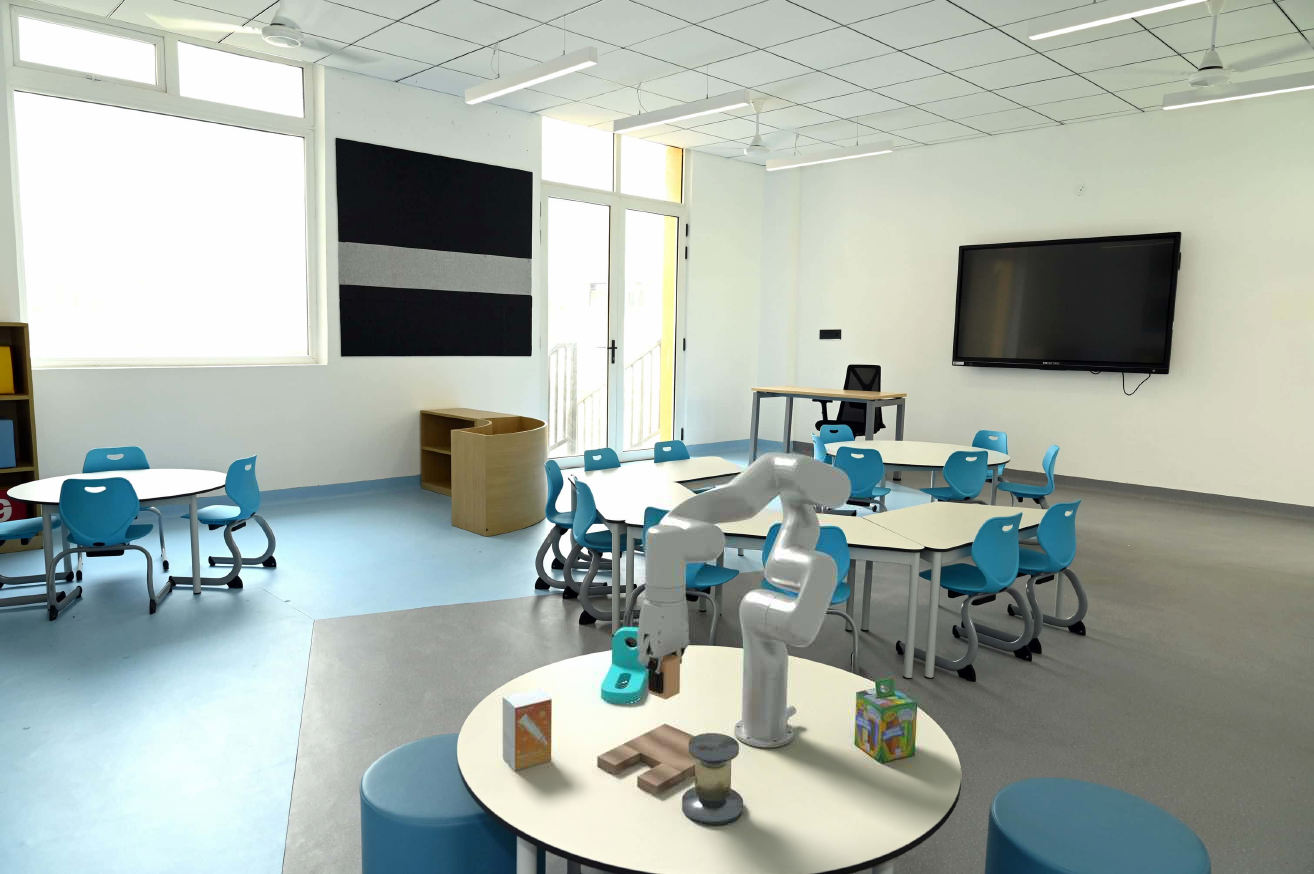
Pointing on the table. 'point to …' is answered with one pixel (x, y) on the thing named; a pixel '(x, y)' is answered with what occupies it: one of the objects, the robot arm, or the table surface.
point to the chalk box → (885, 722)
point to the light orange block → (669, 676)
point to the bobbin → (713, 781)
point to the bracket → (624, 670)
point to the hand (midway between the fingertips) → (663, 686)
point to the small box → (527, 728)
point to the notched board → (654, 758)
